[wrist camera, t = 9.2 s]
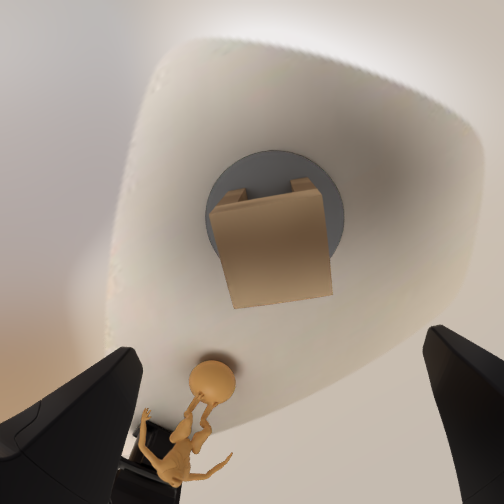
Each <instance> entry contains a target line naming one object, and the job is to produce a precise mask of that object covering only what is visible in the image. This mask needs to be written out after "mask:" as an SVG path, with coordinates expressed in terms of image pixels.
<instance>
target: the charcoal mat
mask: <svg viewBox="0 0 504 504" xmlns="http://www.w3.org/2000/svg"><path fill="white" fill-rule="evenodd" d="M305 177H308V178H309V179H310V181H311V182H312V183H313V184H314V186H315V187H316V188H317V189H318V191H319V192H320V193H321V194H322V198H323V206H324V213H325V221H326V229H327V238H328V247H329V257H331V256H332V255H333V253H334V252H335V250H336V248H337V246H338V244H339V242H340V239H341V236H342V232H343V227H344V209H343V203H342V200H341V197H340V194H339V192H338V190H337V188H336V186H335V184H334V183H333V181H332V180H331V178H330V177H329V176H328V175H327V174H326V172H325V171H324V170H322V169H321V168H320V167H319V166H318V165H316V164H315V163H313V162H312V161H310V160H309V159H307V158H304V157H302V156H300V155H297V154H294V153H290V152H284V151H265V152H259V153H255V154H252V155H249V156H247V157H244V158H242V159H241V160H239V161H237V162H235V163H234V164H233V165H232V166H230V167H229V168H228V169H227V170H226V171H225V172H224V173H223V174H222V175H221V176H220V177H219V179H218V180H217V181H216V183H215V184H214V186H213V188H212V190H211V192H210V195H209V198H208V201H207V206H206V215H205V219H206V229H207V234H208V237H209V240H210V242H211V244H212V246H213V248H214V250H215V252H216V253H217V255H218V256H219V252H218V249H217V245H216V241H215V237H214V233H213V229H212V225H211V222H210V218H209V214H210V212H211V211H212V210H213V209H214V208H215V206H216V205H217V204H218V203H219V202H220V200H221V199H222V198H223V197H224V196H225V194H226V193H227V192H228V191H232V190H237V189H242V188H245V189H246V193H247V198H248V200H252V199H257V198H263V197H269V196H274V195H280V194H286V193H292V188H291V182H290V180H293V179H299V178H305ZM219 257H220V256H219Z"/></svg>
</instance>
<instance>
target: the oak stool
mask: <svg viewBox="0 0 504 504" xmlns="http://www.w3.org/2000/svg"><path fill="white" fill-rule="evenodd" d="M290 182H291V188H292V193H286V194H280V195H274V196H269V197H263V198H257V199H252V200H248V198H247V193H246V189H245V188H242V189H237V190H232V191H228V192H227V193H226V194H225V196H224V197H223V198H222V199H221V200H220V202H219V203H218V204H217V205H216V206H215V208H214V209H213V210H212V211H211V212H210V214H209V218H210V222H211V225H212V229H213V233H214V237H215V241H216V245H217V249H218V252H219V256H220V260H221V264H222V267H223V271H224V275H225V278H226V282H227V286H228V289H229V293H230V296H231V300H232V303H233V307H234V309H238V308H246V307H254V306H262V305H269V304H277V303H284V302H291V301H298V300H304V299H311V298H317V297H323V296H329V295H333V292H332V279H331V268H330V257H329V247H328V238H327V229H326V221H325V213H324V206H323V198H322V194H321V193H320V192H319V191H318V189H317V188H316V187H315V186H314V184H313V183H312V182H311V181H310V179H309V178H308V177H305V178H299V179H293V180H290Z"/></svg>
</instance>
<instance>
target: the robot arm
mask: <svg viewBox="0 0 504 504" xmlns="http://www.w3.org/2000/svg"><path fill="white" fill-rule="evenodd" d="M423 357H424V360H425V364H426V367H427V371H428V375H429V379H430V383H431V387H432V391H433V395H434V398H435V401H436V404H437V407H438V410H439V413H440V416H441V419H442V422H443V425H444V429H445V432H446V435H447V438H448V442H449V446H450V449H451V453H452V457H453V461H454V465H455V469H456V473H457V478H458V482H459V487H460V492H461V497H462V502H463V504H504V361H503V360H502V359H500V358H498V357H497V356H495V355H493V354H492V353H490V352H488V351H486V350H485V349H483V348H481V347H480V346H478V345H476V344H474V343H473V342H471V341H469V340H467V339H466V338H464V337H462V336H460V335H459V334H457V333H455V332H454V331H452V330H450V329H448V328H446V327H445V326H443V325H436V326H431V327H430V328H429V329H428V331H427V335H426V339H425V342H424V345H423ZM142 374H143V367H142V364H141V362H140V360H139V358H138V356H137V354H136V351H135V350H134V349H133V348H132V347H120V348H118V349H117V350H115V351H114V352H112V353H111V354H109V355H108V356H106V357H105V358H103V359H102V360H101V361H99V362H98V363H96V364H94V365H93V366H91V367H90V368H88V369H87V370H85V371H84V372H82V373H81V374H79V375H78V376H76V377H75V378H73V379H72V380H70V381H69V382H68V383H66V384H64V385H63V386H61V387H60V388H58V389H57V390H55V391H54V392H52V393H51V394H49V395H47V396H46V397H44V398H43V399H42V400H40V401H38V402H37V403H35V404H34V405H32V406H31V407H29V408H27V409H26V410H24V411H23V412H21V413H19V414H17V415H16V416H14V417H12V418H10V419H8V420H6V421H4V422H2V423H1V424H0V504H179V501H180V494H181V487H182V484H181V485H180V486H179V487H177V488H175V487H172V486H171V485H170V484H169V483H168V482H165V481H163V480H162V479H161V478H160V477H159V476H158V474H157V470H156V469H155V468H154V467H153V466H152V464H151V462H150V461H149V460H148V459H147V458H146V456H145V455H144V454H143V453H142V451H141V450H140V448H139V446H138V443H139V438H140V426H141V424H140V426H139V427H138V428H137V429H136V430H135V431H134V432H133V436H134V437H136V438H137V439H136V441H135V444H134V447H133V449H132V452H131V454H130V457H129V459H126V458H124V457H122V456H121V455H122V451H123V448H124V444H125V441H126V438H127V434H128V431H129V428H130V425H131V421H132V418H133V415H134V411H135V407H136V402H137V398H138V393H139V388H140V383H141V379H142ZM171 434H172V433H171V432H169V431H167V430H165V429H163V428H161V427H159V426H157V425H155V424H153V423H151V422H149V421H146V437H145V438H146V441H145V446H146V447H147V448H148V449H149V450H150V451H151V452H152V453H153V454H154V455H155V456H156V457H157V458H158V459H160V460H163V458H164V457H165V456H166V455H167V454H168V453H169V452H170V451H171V450H172V449H173V447H174V446H175V444H176V443H172V442H171V441H170V439H169V438H170V435H171ZM119 468H120V469H119ZM118 469H119V470H118Z"/></svg>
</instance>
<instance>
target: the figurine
mask: <svg viewBox="0 0 504 504" xmlns="http://www.w3.org/2000/svg"><path fill="white" fill-rule="evenodd" d="M235 385H236V382H235V377H234V374H233V372H232V371H231V369H230V368H229V367H228V366H227V365H225V364H223V363H221V362H219V361H213V360H210V361H205V362H202V363H200V364H198V365H197V366H196V367H195V368H194V369H193V370H192V372H191V374H190V378H189V386H190V389H191V392H192V393H193V395H194V396H195V397H194V399H193V401H192V402H191V404H190V405H189V407H188V409H187V411H185V412H184V417H185V419H184V420H182V421H181V422H180V423H179V424H178V426H177V428H176V430H175V431H174V432H173V433H172V434H171V435H170V438H169V439H170V441H171V442H172V443H176V444H175V446H174V447H173V449H172V450H171V451H170V452H169V453H168V454H167V455H166V456H165V457H164V458H163V460H160V459H158V458H157V457H156V456H155V455H154V454H153V453H152V452H151V451H150V450H149V449H148V448H147V447H146V446H145V441H146V438H145V437H146V420H148V419H150V418H151V416H150V417H148V415H149V413H150V411H151V410H150V411H149V412H148V413H147V411H148V409H149V408H147V409H146V408H145V409H144V411H143V414H142V418H141V426H140V438H139V443H138V446H139V448H140V450H141V451H142V453H143V454H144V455H145V456H146V458H147V459H148V460H149V461H150V462H151V464H152V466H153V467H154V468H155V469H156V470H157V474H158V476H159V477H160V478H161V479H162V480H163V481H165V482H168V483H169V484H170V485H171V486H172V487H175V488H177V487H179V486H180V485H181V484H182V481H192V480H204V479H207V478H209V477H210V476H211V475H212V474H213V473H215V472H216V471H218V470H219V469H221V468H222V467H223V466H224V465H225V464H227V462H228V461H229V459H230V458H231V456H232V454H233V453H231V454H230V455H229V456H228V457H227V459H226V460H225V461H223V462H222V463H219V464H218V465H216V466H215V467H213V468H212V469H211V470H209V471H208V472H207V473H206V474H195V473H189V472H190V468H191V467H190V462H189V461H190V457H189V455H190V452H191V450H192V452H193V453H194V454H198V453H199V452H200V449H201V446H202V445H203V443H204V442H205V441H206V439H207V438H208V436H209V435H210V434H211V433H212V429H211V426H210V425H209V423H208V421H206V418H207V417H208V415H209V414H210V412H211V411H212V409H213V408H214V407H216V406H217V405H218V404H220V403H223V402H225V401H227V400H228V399H229V398H230V397H231V396H232V394H233V392H234V390H235ZM200 401H201V402H203V403H206V404H207V407H206V409H205V411H204V413H203V415H202V417H201V421H200V425H201V427H202V428H204V429H203V430H202V431H200V432H196V433H195V434H194V436H193V438H192V440H191V441H190V439H188V438H187V437H188V436H189V435H190V433H191V426H192V422H193V415H192V413H191V412H192V411H193V410H194V408H195V407H196V405H197V404H198V403H199V402H200ZM145 410H146V411H145Z"/></svg>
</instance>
